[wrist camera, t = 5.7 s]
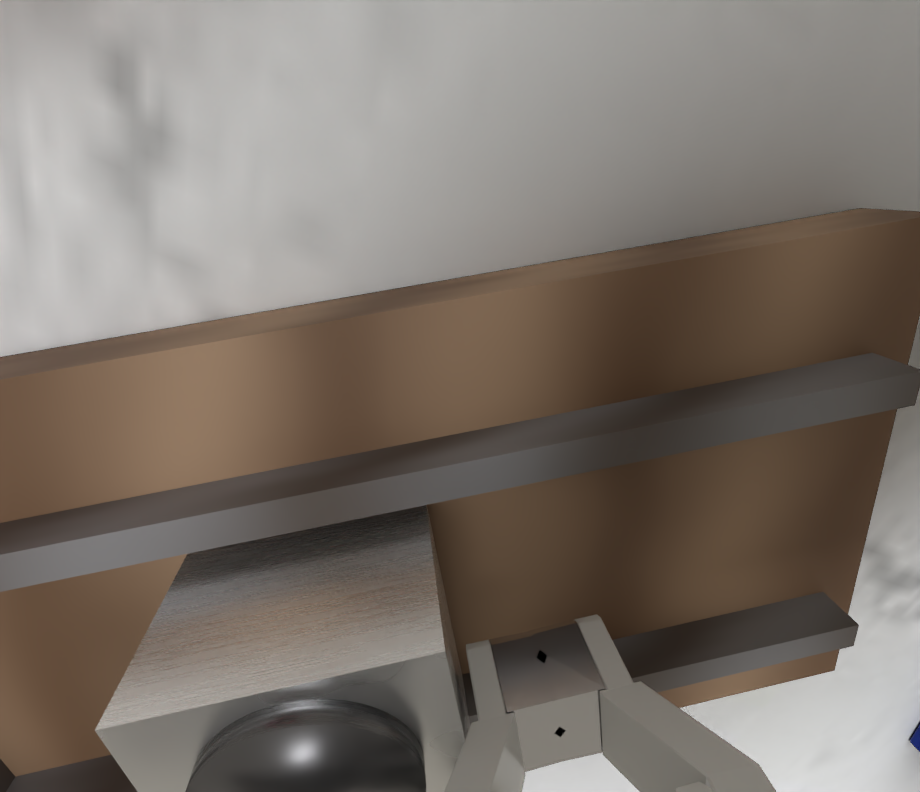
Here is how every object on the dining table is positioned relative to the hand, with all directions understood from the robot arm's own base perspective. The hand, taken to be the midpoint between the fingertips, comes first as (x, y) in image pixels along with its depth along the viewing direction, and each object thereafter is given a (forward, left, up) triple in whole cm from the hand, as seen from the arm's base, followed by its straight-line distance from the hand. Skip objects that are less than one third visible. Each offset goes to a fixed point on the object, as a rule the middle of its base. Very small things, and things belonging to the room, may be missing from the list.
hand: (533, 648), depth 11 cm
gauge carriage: (+4, +1, -2) cm, 5 cm away
